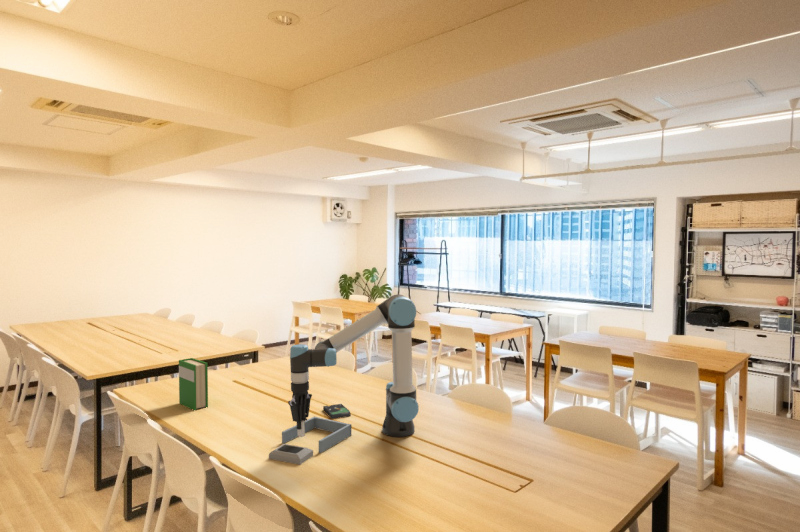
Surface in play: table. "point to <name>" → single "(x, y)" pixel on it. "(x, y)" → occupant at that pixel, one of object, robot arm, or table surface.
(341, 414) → the disk drive
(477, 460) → the table surface
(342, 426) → the open u-shaped frame
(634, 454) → the table surface
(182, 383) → the hardback book
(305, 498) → the table surface
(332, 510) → the table surface
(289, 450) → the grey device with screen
